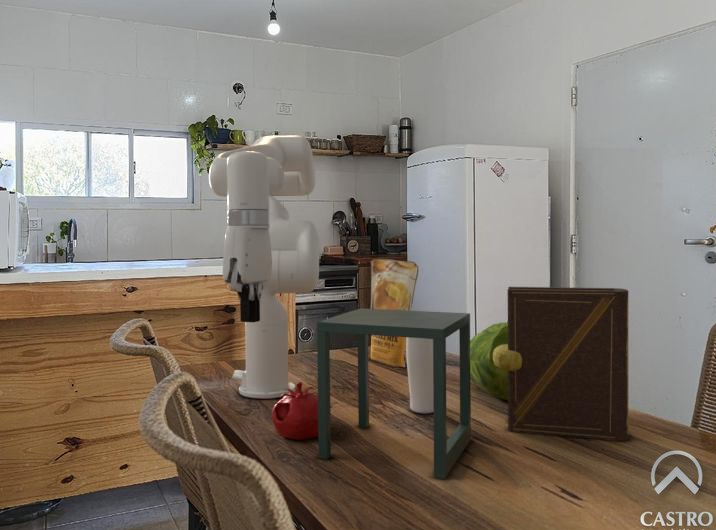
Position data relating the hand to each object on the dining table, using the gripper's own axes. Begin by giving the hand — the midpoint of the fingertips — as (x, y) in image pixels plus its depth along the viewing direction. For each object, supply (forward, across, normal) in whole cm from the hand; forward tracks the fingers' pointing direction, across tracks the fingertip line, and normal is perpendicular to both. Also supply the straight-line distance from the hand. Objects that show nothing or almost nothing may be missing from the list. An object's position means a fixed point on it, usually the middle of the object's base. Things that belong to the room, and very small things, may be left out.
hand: (250, 321), depth 109 cm
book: (+20, -20, +51) cm, 58 cm away
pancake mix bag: (+19, -62, +5) cm, 66 cm away
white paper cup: (+20, -22, +26) cm, 39 cm away
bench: (+20, 0, +28) cm, 34 cm away
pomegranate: (+20, 0, +10) cm, 22 cm away
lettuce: (+19, -40, +38) cm, 59 cm away
